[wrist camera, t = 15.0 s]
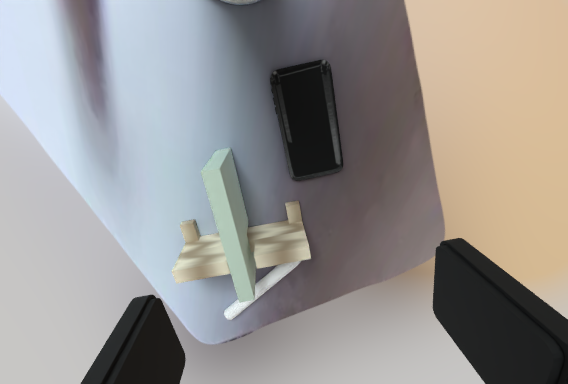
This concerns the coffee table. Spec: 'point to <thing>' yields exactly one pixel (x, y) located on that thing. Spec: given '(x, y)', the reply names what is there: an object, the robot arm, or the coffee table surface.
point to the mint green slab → (231, 220)
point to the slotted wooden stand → (262, 239)
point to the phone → (308, 119)
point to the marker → (261, 288)
